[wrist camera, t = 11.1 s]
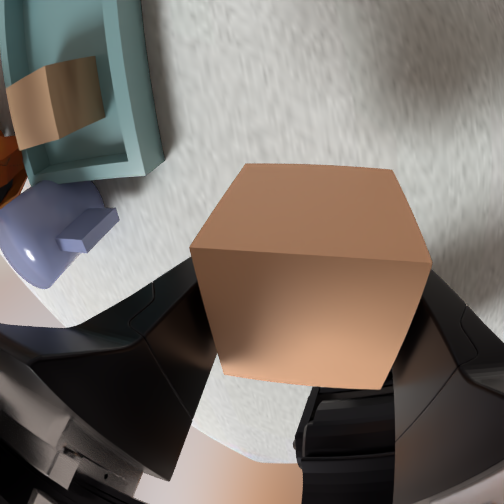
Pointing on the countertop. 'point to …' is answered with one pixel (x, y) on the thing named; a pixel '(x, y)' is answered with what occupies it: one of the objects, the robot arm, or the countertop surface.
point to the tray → (110, 79)
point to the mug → (52, 228)
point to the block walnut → (55, 101)
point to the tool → (10, 169)
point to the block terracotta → (311, 274)
